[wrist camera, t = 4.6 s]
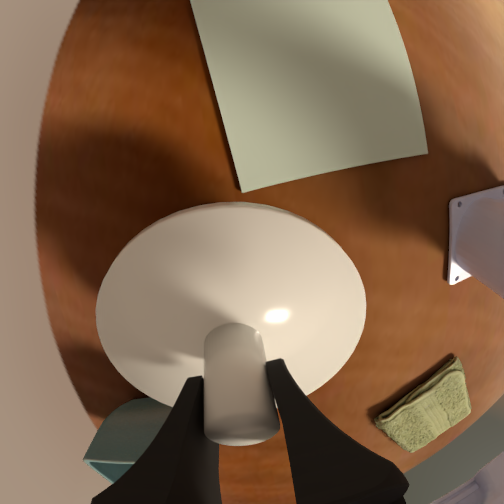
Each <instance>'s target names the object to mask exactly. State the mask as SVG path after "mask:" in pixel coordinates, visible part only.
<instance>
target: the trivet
mask: <svg viewBox="0 0 504 504" xmlns="http://www.w3.org/2000/svg"><path fill="white" fill-rule="evenodd" d="M190 2H191V6H192V9H193V13H194V17H195V20H196V24H197V27H198V31H199V35H200V38H201V42H202V46H203V49H204V53H205V57H206V60H207V64H208V68H209V71H210V75H211V79H212V82H213V86H214V90H215V93H216V97H217V101H218V104H219V108H220V112H221V116H222V119H223V123H224V127H225V130H226V134H227V138H228V142H229V145H230V149H231V153H232V157H233V160H234V164H235V168H236V172H237V175H238V179H239V183H240V187H241V190H242V193H244V192H247V191H251V190H255V189H259V188H263V187H267V186H271V185H275V184H279V183H283V182H287V181H292V180H296V179H300V178H304V177H309V176H313V175H318V174H322V173H327V172H331V171H336V170H341V169H346V168H351V167H356V166H361V165H366V164H371V163H376V162H382V161H387V160H393V159H398V158H404V157H410V156H416V155H422V154H428V149H427V142H426V135H425V129H424V123H423V118H422V113H421V108H420V103H419V98H418V94H417V90H416V85H415V81H414V78H413V74H412V70H411V66H410V63H409V59H408V56H407V53H406V49H405V46H404V43H403V40H402V37H401V34H400V31H399V29H398V26H397V23H396V20H395V18H394V15H393V13H392V10H391V8H390V5H389V3H388V0H190Z"/></svg>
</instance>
